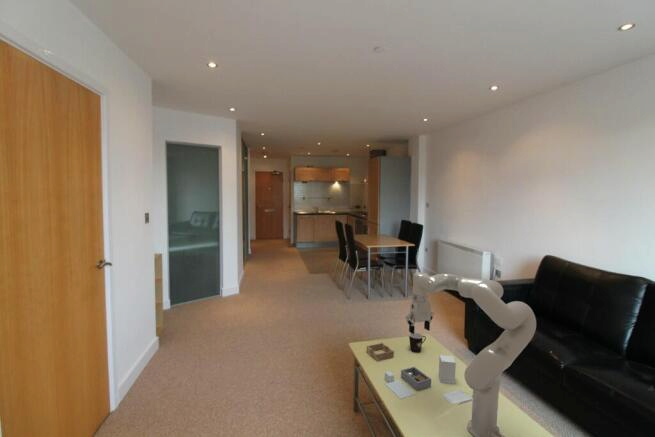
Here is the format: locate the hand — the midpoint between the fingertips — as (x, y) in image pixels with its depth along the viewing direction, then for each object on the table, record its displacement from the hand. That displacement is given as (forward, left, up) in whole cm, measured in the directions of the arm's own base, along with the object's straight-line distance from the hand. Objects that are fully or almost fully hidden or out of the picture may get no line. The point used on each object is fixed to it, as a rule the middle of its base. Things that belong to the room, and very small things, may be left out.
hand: (419, 331), depth 155 cm
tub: (+7, -5, -32) cm, 33 cm away
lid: (+7, +7, -32) cm, 34 cm away
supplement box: (+2, -22, -32) cm, 39 cm away
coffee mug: (+35, -31, -32) cm, 57 cm away
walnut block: (+4, -5, -32) cm, 32 cm away
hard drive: (-11, -15, -33) cm, 38 cm away
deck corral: (+40, -5, -32) cm, 52 cm away
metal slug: (+11, -4, -32) cm, 33 cm away
